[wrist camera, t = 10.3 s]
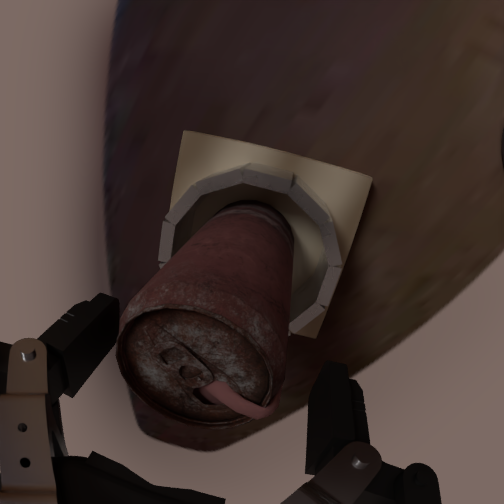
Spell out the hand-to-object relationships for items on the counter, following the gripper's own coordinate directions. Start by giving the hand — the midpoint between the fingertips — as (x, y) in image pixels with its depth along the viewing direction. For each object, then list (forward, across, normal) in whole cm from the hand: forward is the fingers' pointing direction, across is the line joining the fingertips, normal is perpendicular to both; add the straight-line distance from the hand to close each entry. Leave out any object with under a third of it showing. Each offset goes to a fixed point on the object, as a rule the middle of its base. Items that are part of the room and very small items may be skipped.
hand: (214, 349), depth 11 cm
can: (+12, 0, 0) cm, 12 cm away
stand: (+13, 0, 0) cm, 13 cm away
